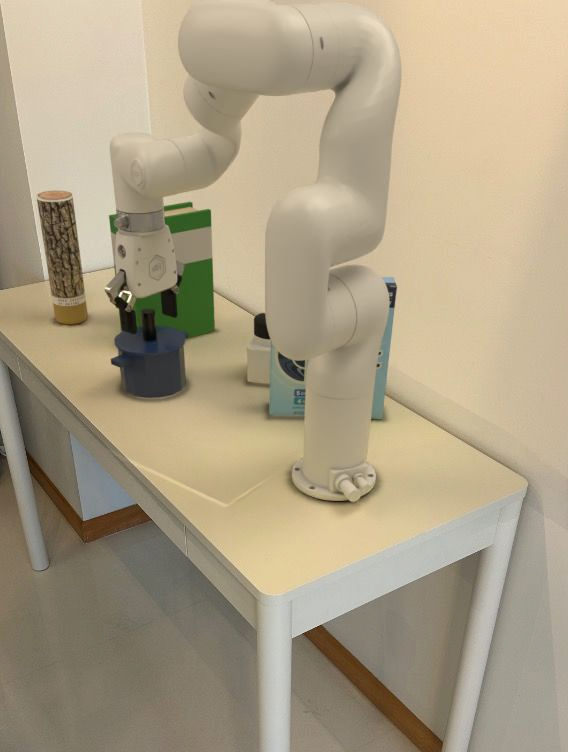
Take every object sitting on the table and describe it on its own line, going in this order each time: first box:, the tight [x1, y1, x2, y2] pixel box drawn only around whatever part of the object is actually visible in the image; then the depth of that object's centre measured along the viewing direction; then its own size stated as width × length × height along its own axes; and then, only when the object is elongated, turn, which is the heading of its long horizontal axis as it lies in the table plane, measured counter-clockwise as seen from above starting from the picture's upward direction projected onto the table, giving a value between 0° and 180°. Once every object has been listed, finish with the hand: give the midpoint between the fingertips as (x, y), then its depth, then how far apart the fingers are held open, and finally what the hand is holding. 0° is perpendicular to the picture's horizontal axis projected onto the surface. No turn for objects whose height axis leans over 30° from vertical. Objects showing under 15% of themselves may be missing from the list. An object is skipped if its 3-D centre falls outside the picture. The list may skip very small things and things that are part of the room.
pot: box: [110, 330, 190, 399], centre depth 143 cm, size 11×17×8 cm
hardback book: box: [108, 201, 216, 339], centre depth 157 cm, size 18×7×24 cm, turn 127°
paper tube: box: [36, 190, 89, 325], centre depth 163 cm, size 7×7×25 cm
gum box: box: [268, 276, 398, 420], centre depth 132 cm, size 20×5×23 cm, turn 90°
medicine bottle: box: [246, 311, 271, 385], centre depth 145 cm, size 7×7×12 cm
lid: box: [113, 309, 187, 356], centre depth 139 cm, size 12×12×6 cm
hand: (150, 323), depth 138 cm, fingers open, 9 cm apart
